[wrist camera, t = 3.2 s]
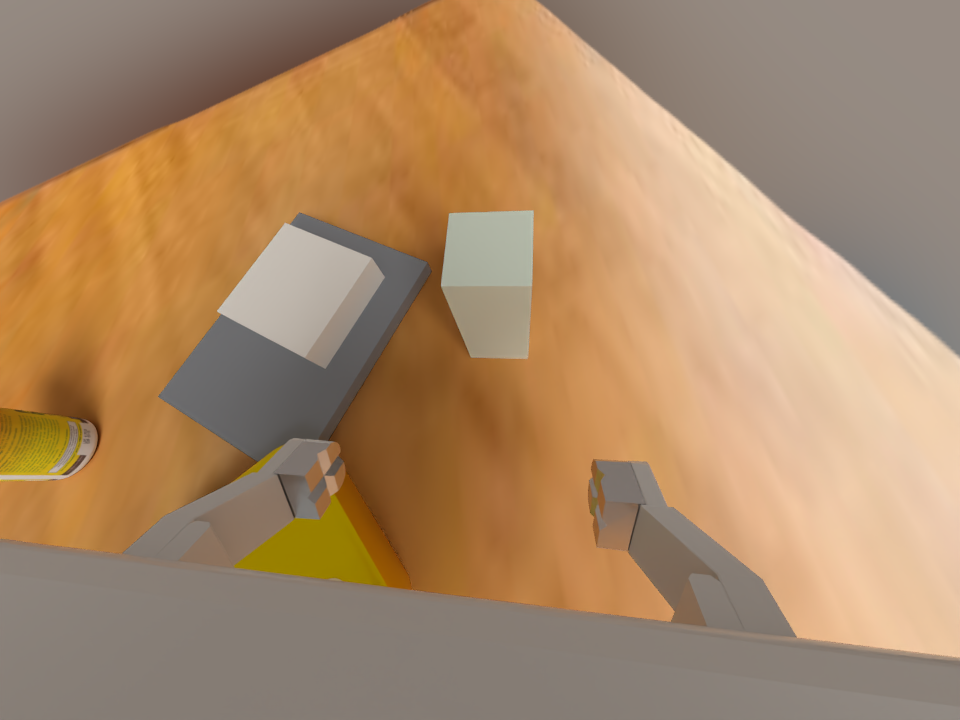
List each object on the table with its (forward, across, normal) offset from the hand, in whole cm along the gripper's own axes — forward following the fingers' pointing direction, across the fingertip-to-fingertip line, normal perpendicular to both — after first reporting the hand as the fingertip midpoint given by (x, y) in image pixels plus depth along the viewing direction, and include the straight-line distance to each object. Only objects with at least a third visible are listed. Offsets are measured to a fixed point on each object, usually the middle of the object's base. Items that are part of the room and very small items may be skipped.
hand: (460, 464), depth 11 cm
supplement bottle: (+12, +39, +13) cm, 43 cm away
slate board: (+20, +19, +4) cm, 28 cm away
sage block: (+20, 0, +4) cm, 21 cm away
